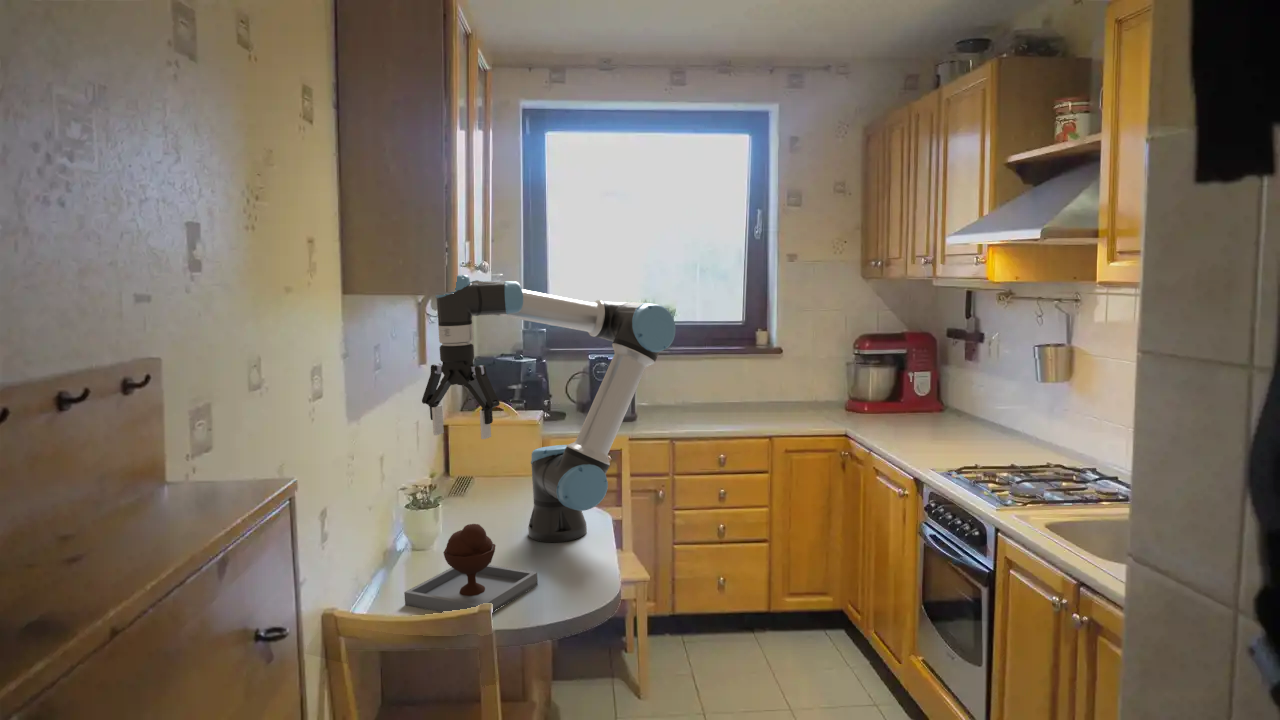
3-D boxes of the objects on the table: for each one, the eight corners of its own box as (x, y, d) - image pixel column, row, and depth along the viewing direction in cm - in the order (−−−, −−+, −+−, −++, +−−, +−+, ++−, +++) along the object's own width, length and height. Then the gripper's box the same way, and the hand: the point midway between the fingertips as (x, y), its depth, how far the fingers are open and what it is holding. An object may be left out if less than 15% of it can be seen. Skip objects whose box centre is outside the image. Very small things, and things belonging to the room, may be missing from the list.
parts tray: (465, 572, 201) (464, 560, 201) (537, 584, 192) (536, 572, 192) (405, 604, 184) (404, 592, 183) (481, 620, 175) (481, 606, 174)
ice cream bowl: (500, 580, 194) (496, 514, 192) (493, 599, 183) (489, 530, 181) (452, 582, 193) (447, 516, 192) (442, 602, 182) (438, 533, 181)
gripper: (402, 344, 199) (408, 435, 202) (491, 346, 188) (496, 443, 190) (424, 341, 206) (430, 429, 208) (511, 342, 194) (516, 436, 197)
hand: (462, 436), depth 199 cm, fingers open, 13 cm apart
